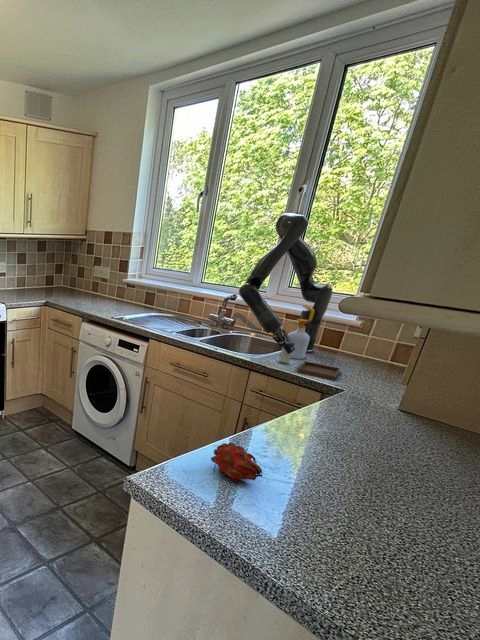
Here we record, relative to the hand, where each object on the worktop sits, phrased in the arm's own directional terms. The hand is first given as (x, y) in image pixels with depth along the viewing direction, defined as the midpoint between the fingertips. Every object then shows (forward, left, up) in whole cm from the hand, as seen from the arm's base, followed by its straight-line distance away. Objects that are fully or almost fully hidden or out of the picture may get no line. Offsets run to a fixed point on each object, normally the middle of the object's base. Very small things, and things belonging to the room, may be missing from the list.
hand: (291, 351), depth 183 cm
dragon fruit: (+115, +9, -6) cm, 116 cm away
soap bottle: (-16, -1, -6) cm, 17 cm away
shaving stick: (0, -2, -5) cm, 5 cm away
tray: (+3, +12, -6) cm, 14 cm away
